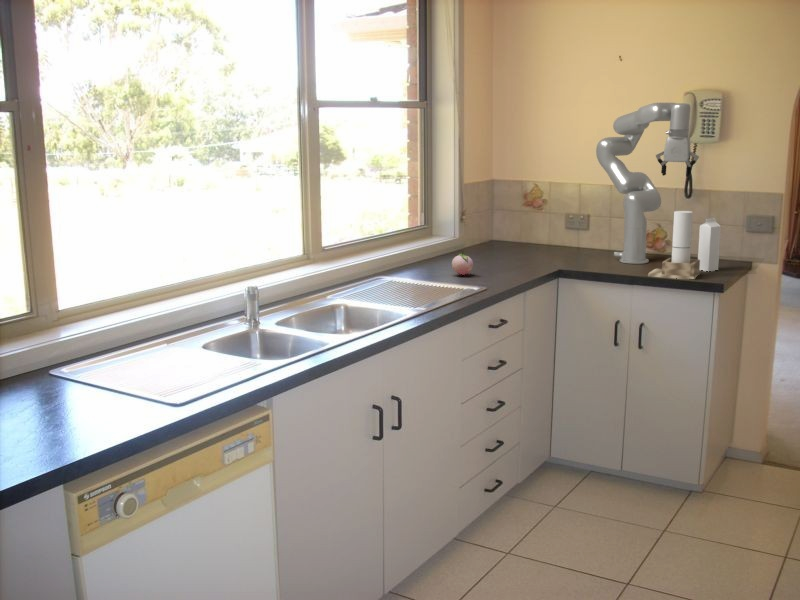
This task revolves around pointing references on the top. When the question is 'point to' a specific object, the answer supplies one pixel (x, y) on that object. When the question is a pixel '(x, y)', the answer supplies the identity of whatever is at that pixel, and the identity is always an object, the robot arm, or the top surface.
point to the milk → (709, 245)
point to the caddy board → (677, 270)
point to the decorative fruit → (462, 264)
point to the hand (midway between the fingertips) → (675, 175)
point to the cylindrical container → (682, 236)
